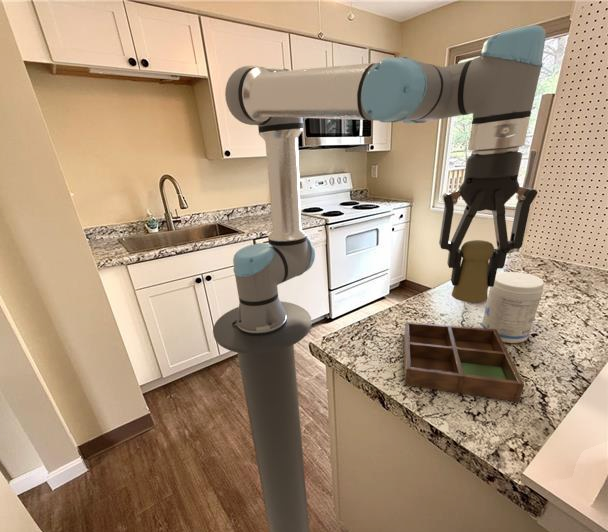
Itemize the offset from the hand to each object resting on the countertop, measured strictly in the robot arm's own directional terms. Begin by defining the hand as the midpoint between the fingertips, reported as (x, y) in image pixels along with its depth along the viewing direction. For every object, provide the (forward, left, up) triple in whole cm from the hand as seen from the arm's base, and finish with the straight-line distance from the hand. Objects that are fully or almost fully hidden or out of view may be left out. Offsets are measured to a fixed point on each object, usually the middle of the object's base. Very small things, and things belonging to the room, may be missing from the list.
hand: (471, 283), depth 60 cm
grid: (-1, 0, -19) cm, 19 cm away
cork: (0, 0, -3) cm, 3 cm away
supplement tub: (+12, +15, -19) cm, 27 cm away
